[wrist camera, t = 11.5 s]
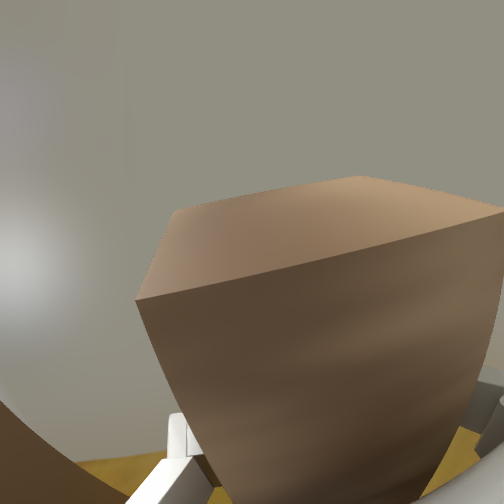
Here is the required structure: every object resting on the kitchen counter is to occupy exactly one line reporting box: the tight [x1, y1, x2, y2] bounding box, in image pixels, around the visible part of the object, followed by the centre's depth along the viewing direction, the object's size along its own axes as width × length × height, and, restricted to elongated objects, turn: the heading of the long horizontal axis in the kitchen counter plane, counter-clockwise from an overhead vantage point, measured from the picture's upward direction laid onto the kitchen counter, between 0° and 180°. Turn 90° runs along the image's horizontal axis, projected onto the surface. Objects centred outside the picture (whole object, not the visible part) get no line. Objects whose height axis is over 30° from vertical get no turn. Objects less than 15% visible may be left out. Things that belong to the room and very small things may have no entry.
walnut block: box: [135, 176, 504, 504], centre depth 7 cm, size 5×5×12 cm
